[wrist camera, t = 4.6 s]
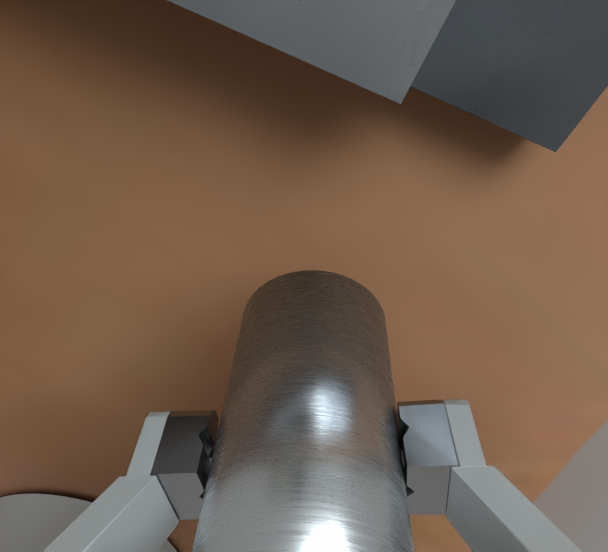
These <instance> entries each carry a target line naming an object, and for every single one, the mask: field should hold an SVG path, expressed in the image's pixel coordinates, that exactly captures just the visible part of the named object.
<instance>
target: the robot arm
mask: <svg viewBox="0 0 608 552" xmlns="http://www.w3.org/2000/svg"><path fill="white" fill-rule="evenodd" d="M397 416H398V427H399V435H400V443H401V451H402V459H403V467H404V476H405V484H406V492H407V500H408V508H409V514H446V517H447V519H448V520H449V521H450V523H451V524H452V525H453V527H454V528H455V529H456V530H457V532H458V533H459V534H460V536H461V537H462V538H463V540H464V541H465V542H466V544H467V545H468V546H469V548H470V549H471V550H472V552H581V550H580V549H579V548H577V547H576V545H574V544H573V543H572V542H571V541H570V540H569V539H568V538H567V537H566V536H565V535H564V534H563V533H562V532H561V531H560V530H559V529H558V528H557V527H556V526H555V525H554V524H553V523H552V522H551V521H550V520H549V519H548V518H546V516H545V515H544V514H542V512H541V511H539V509H537V508H536V507H535V506H534V505H533V504H532V503H531V502H530V501H529V500H528V499H527V498H526V497H525V496H524V495H523V494H522V493H521V492H520V491H519V490H518V489H517V488H516V487H515V486H514V485H513V484H512V483H511V482H510V481H509V480H508V479H507V478H506V477H505V476H504V475H503V474H502V473H500V472H499V471H498V470H497V469H496V468H495V467H494V466H486V463H485V459H484V455H483V452H482V448H481V445H480V441H479V438H478V434H477V430H476V427H475V423H474V420H473V416H472V413H471V409H470V405H469V403H468V401H467V400H466V399H454V400H424V401H406V402H397ZM218 421H219V419H218V416H217V413H216V411H215V410H210V411H159V412H150V413H149V414H148V416H147V417H146V418H145V421H144V424H143V427H142V430H141V433H140V436H139V439H138V441H137V444H136V447H135V450H134V453H133V456H132V459H131V462H130V465H129V467H128V470H127V473H126V476H119V477H118V478H117V479H116V480H115V481H114V482H113V483H112V484H111V485H110V486H109V487H108V488H107V489H106V490H105V491H104V492H103V493H102V494H101V495H100V496H99V497H98V498H97V499H96V500H95V501H94V502H93V503H92V502H89V501H85V500H80V499H76V498H70V497H65V496H58V495H49V494H16V495H9V496H4V497H1V498H0V552H177V551H176V550H175V549H174V547H173V546H172V545H171V544H170V542H169V541H168V540H167V538H168V537H169V536H170V534H171V533H172V532H173V530H174V529H175V528H176V526H177V525H178V523H179V520H188V519H199V516H200V512H201V507H202V502H203V498H204V493H205V488H206V484H207V479H208V475H209V470H210V465H211V461H212V456H213V451H214V447H215V442H216V438H217V433H218V428H217V426H218Z"/></svg>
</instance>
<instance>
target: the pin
mask: <svg viewBox="0 0 608 552" xmlns="http://www.w3.org/2000/svg"><path fill="white" fill-rule="evenodd" d="M192 552H414V549H413V541H412V532H411V524H410V516H409V508H408V500H407V492H406V484H405V476H404V467H403V459H402V451H401V443H400V435H399V427H398V419H397V411H396V403H395V394H394V386H393V378H392V370H391V362H390V354H389V346H388V338H387V329H386V322H385V315H384V312H383V309H382V307H381V305H380V304H379V302H378V300H377V299H376V298H375V296H374V295H373V294H372V293H371V292H370V291H369V290H368V289H366V288H365V287H364V286H362V285H361V284H359V283H358V282H356V281H354V280H352V279H350V278H348V277H345V276H343V275H339V274H336V273H332V272H326V271H316V270H308V271H298V272H292V273H288V274H284V275H282V276H279V277H276V278H274V279H272V280H270V281H269V282H267V283H265V284H264V285H263V286H261V287H260V288H259V289H258V290H257V291H256V292H255V293H254V294H253V295H252V296H251V298H250V299H249V301H248V303H247V304H246V307H245V309H244V312H243V317H242V322H241V326H240V331H239V336H238V340H237V345H236V349H235V354H234V359H233V363H232V368H231V373H230V377H229V382H228V387H227V391H226V396H225V400H224V405H223V410H222V414H221V419H220V424H219V428H218V433H217V438H216V442H215V447H214V451H213V456H212V461H211V465H210V470H209V475H208V479H207V484H206V488H205V493H204V498H203V502H202V507H201V512H200V516H199V521H198V526H197V530H196V535H195V539H194V544H193V549H192Z"/></svg>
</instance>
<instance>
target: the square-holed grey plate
mask: <svg viewBox="0 0 608 552" xmlns="http://www.w3.org/2000/svg"><path fill="white" fill-rule="evenodd" d="M168 1H170V2H172V3H174V4H177V5H179V6H181V7H183V8H186V9H188V10H190V11H192V12H195V13H197V14H199V15H201V16H204V17H206V18H208V19H210V20H213V21H215V22H217V23H219V24H222V25H224V26H226V27H228V28H231V29H233V30H235V31H237V32H240V33H242V34H244V35H246V36H249V37H251V38H253V39H255V40H258V41H260V42H262V43H264V44H267V45H269V46H271V47H273V48H276V49H278V50H280V51H282V52H285V53H287V54H289V55H291V56H294V57H296V58H298V59H300V60H303V61H305V62H307V63H309V64H311V65H314V66H316V67H318V68H320V69H323V70H325V71H327V72H329V73H332V74H334V75H336V76H338V77H341V78H343V79H345V80H347V81H350V82H352V83H354V84H356V85H359V86H361V87H363V88H365V89H368V90H370V91H372V92H374V93H377V94H379V95H381V96H383V97H386V98H388V99H390V100H392V101H395V102H397V103H399V104H401V103H402V101H403V99H404V97H405V95H406V93H407V91H408V90H409V88H410V86H411V87H413V88H415V89H417V90H420V91H422V92H424V93H426V94H428V95H431V96H433V97H435V98H437V99H439V100H442V101H444V102H446V103H448V104H450V105H453V106H455V107H457V108H459V109H461V110H464V111H466V112H468V113H470V114H473V115H475V116H477V117H479V118H481V119H484V120H486V121H488V122H490V123H492V124H495V125H497V126H499V127H501V128H503V129H506V130H508V131H510V132H512V133H514V134H517V135H519V136H521V137H523V138H525V139H528V140H530V141H532V142H534V143H537V144H539V145H541V146H543V147H545V148H548V149H550V150H552V151H554V152H556V151H557V150H558V149H559V147H560V146H561V145H562V143H563V142H564V141H565V140H566V138H567V137H568V136H569V134H570V133H571V132H572V131H573V129H574V128H575V127H576V126H577V124H578V123H579V122H580V120H581V119H582V118H583V117H584V115H585V114H586V113H587V111H588V110H589V109H590V108H591V106H592V105H593V104H594V102H595V101H596V100H597V99H598V97H599V96H600V95H601V93H602V92H603V91H604V90H605V88H606V87H607V86H608V0H168Z"/></svg>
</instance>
